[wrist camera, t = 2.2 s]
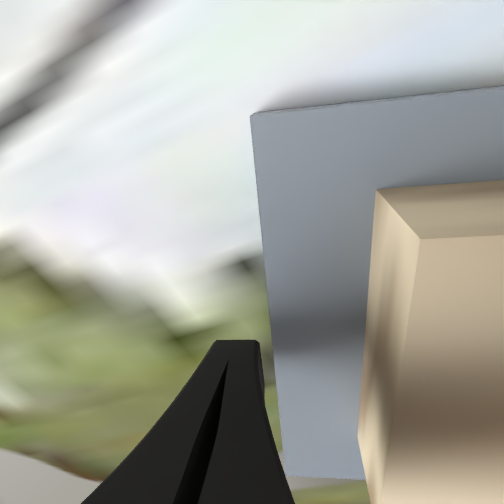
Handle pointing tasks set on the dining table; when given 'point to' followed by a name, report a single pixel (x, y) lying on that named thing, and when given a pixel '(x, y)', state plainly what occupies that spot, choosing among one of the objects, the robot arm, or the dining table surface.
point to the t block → (435, 346)
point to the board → (347, 241)
